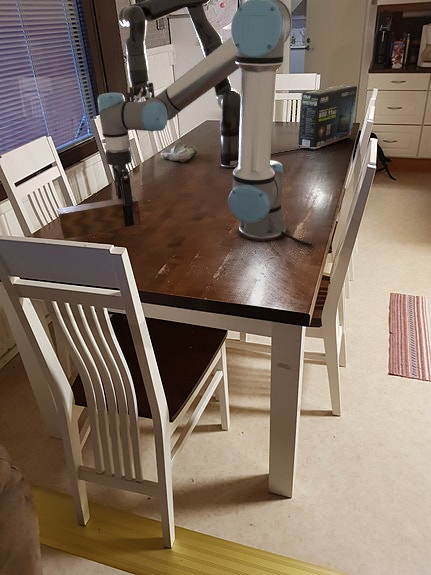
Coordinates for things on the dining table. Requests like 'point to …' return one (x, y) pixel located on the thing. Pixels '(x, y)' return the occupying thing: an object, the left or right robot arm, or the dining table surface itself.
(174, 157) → the fossil
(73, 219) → the bar
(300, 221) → the dining table surface
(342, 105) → the router box
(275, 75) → the right robot arm
